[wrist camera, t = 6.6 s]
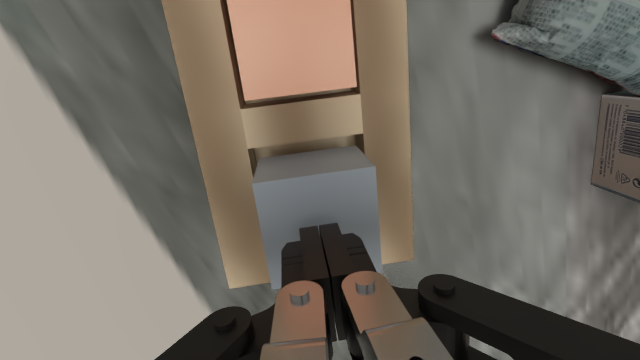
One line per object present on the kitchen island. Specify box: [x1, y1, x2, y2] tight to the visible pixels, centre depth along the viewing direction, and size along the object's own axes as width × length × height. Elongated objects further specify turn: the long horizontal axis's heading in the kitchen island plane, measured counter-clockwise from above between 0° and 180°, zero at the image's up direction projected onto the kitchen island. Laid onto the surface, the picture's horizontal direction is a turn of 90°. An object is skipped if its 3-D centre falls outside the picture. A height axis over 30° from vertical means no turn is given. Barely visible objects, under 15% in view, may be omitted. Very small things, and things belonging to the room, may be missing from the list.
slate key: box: [252, 145, 382, 290], centre depth 16 cm, size 5×5×4 cm
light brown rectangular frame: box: [161, 0, 414, 289], centre depth 18 cm, size 11×26×5 cm, turn 7°
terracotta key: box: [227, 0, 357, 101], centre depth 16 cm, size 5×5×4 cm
